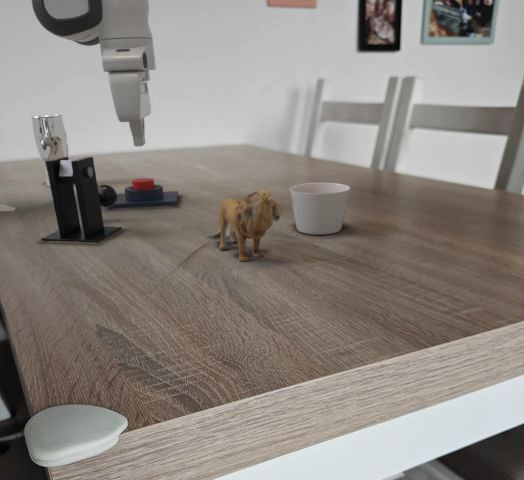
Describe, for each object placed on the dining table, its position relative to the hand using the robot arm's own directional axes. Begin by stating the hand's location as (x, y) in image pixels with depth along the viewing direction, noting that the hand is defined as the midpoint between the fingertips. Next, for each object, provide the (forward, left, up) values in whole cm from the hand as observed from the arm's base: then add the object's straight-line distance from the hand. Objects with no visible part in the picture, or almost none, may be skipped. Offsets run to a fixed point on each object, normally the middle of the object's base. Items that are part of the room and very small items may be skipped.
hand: (140, 145), depth 100 cm
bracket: (-7, -23, -11) cm, 26 cm away
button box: (0, 0, -11) cm, 11 cm away
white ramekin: (+29, -24, -11) cm, 39 cm away
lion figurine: (+17, -34, -11) cm, 40 cm away
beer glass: (-23, +29, -11) cm, 39 cm away
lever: (-6, -20, -5) cm, 21 cm away
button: (0, 0, -8) cm, 8 cm away
